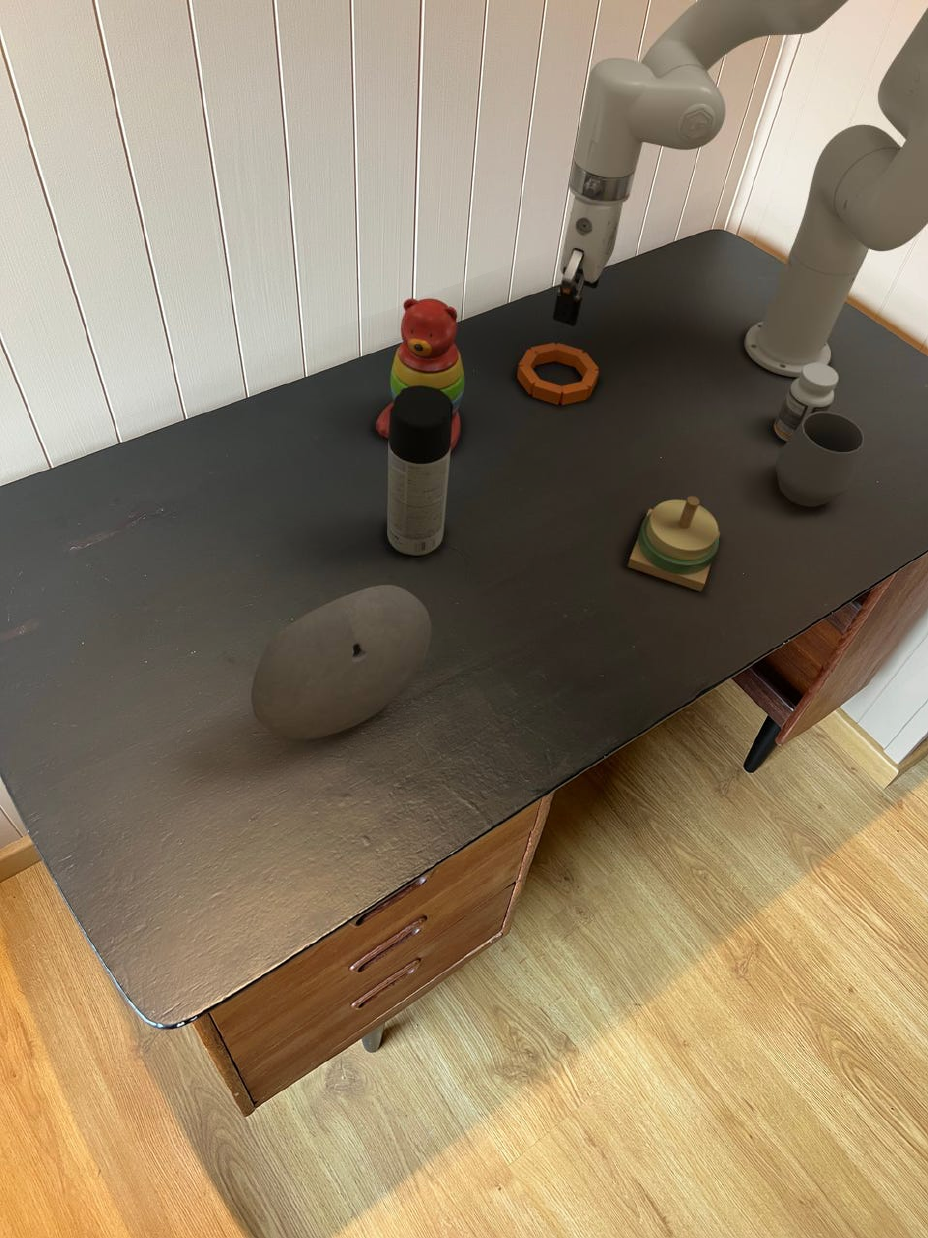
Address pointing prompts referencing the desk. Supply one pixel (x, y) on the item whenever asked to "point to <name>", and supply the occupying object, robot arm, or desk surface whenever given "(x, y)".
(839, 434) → the cup
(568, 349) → the orange ring
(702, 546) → the stacker
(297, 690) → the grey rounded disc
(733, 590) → the desk surface
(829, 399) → the pill bottle
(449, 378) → the stacking bear
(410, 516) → the spray can
